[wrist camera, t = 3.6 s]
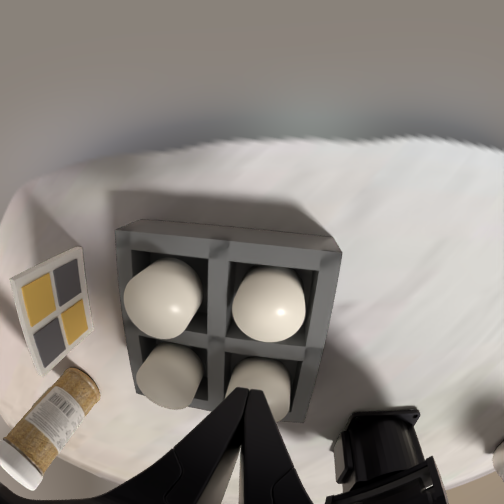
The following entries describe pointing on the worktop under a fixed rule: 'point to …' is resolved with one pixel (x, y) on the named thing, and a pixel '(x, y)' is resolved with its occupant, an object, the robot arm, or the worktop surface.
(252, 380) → the button
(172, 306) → the button
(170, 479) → the robot arm
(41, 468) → the sprinkles bottle
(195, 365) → the button
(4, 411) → the worktop surface
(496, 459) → the plastic bottle
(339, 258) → the button board
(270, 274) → the button
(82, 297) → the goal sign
